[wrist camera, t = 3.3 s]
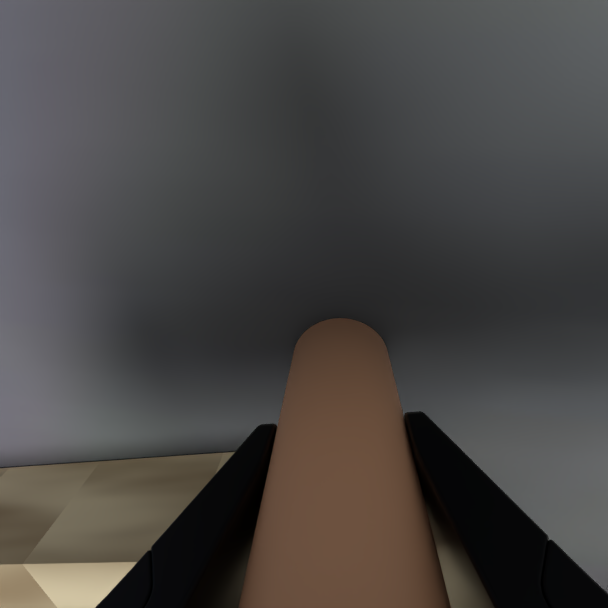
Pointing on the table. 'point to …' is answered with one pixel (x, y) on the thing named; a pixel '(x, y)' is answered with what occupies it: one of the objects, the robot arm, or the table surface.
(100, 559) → the hole block
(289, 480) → the peg
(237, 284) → the table surface
